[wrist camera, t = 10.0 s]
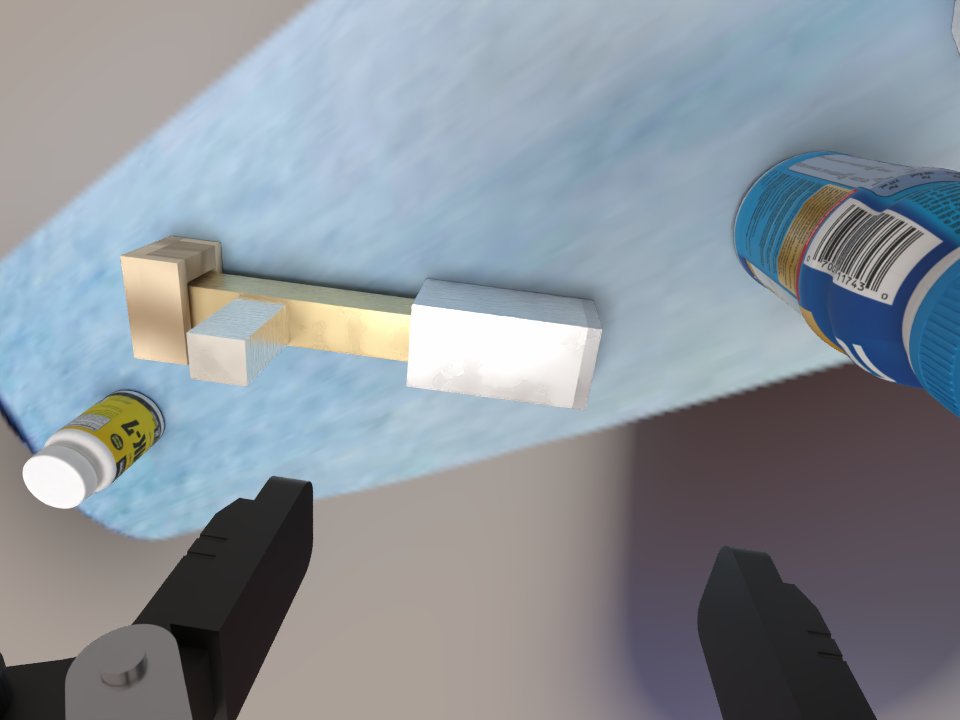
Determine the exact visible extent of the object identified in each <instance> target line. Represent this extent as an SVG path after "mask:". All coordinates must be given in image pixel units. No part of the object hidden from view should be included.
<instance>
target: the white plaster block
mask: <svg viewBox="0 0 960 720" xmlns="http://www.w3.org/2000/svg"><path fill="white" fill-rule="evenodd" d="M601 334H602V327H601V323H600V320H599V317H598V314H597V311H596V307H595V304H594V301H593V300H586V299H579V298H571V297H563V296H556V295H548V294H540V293H533V292H525V291H518V290H510V289H502V288H495V287H487V286H479V285H472V284H464V283H457V282H449V281H441V280H434V279H426V281H425V282H424V284H423V286H422V288H421V290H420V291H419V293H418V295H417V297H416V298H415V300H414V302H413V304H412V314H411V329H410V343H409V358H408V372H407V386H410V387H418V388H425V389H432V390H440V391H447V392H455V393H462V394H469V395H477V396H484V397H491V398H499V399H506V400H514V401H521V402H528V403H536V404H543V405H550V406H558V407H565V408H573V409H580V410H585V409H586V405H587V400H588V395H589V391H590V386H591V381H592V376H593V372H594V367H595V362H596V358H597V353H598V348H599V343H600V339H601Z"/></svg>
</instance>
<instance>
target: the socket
mask: <svg viewBox="0 0 960 720" xmlns="http://www.w3.org/2000/svg"><path fill="white" fill-rule="evenodd" d="M120 258H121V265H122V272H123V279H124V286H125V293H126V300H127V307H128V315H129V322H130V329H131V336H132V343H133V350H134V357H135V358H139V359H146V360H153V361H161V362H168V363H176V364H183V365H188V364H189V355H188V345H187V335H186V333H187V332H188V331H189V330H191V321H190V311H189V300H188V290H187V283H188V282H189V281H191V280H193V279H195V278H197V277H198V276H200V275H202V274H204V273H206V272H214V273H221V274H223V271H222V256H221V243H220V242H213V241H205V240H197V239H190V238H182V237H175V236H169V237H167V238H164V239H162V240H159V241H156V242H154V243H151V244H149V245H146V246H144V247H141V248H139V249H136V250H134V251H131V252H129V253H126V254H124V255H121V256H120Z"/></svg>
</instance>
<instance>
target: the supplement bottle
mask: <svg viewBox="0 0 960 720" xmlns="http://www.w3.org/2000/svg"><path fill="white" fill-rule="evenodd" d="M163 430H164V422H163V418H162V415H161V413H160V411H159V409H158V408H157V406H156V405H155V404H154V403H153V402H152V401H151V400H150V399H148V398H147V397H145V396H144V395H142V394H139V393H137V392H133V391H117V392H114V393H112V394H110V395H108V396H107V397H105V398H104V399H103V400H101V401H100V402H98V403H97V404H95V405H94V406H93V407H91V408H90V409H88V410H87V411H85V412H84V413H83V414H81V415H80V416H78V417H77V418H76V419H74V420H73V421H71V422H70V423H68V424H67V425H66V426H64V427H63V428H61V429H60V430H58V431H57V432H55V433H54V434H53V435H52V436H51V437H50V438H49V439H48V440H47V442H46V443H45V446H44V448H43V449H42V450H40V451H39V452H38V453H37V454H35V455H34V456H33V457H32V458H30V459H29V460H28V461H27V462H26V464H25V465H24V468H23V478H24V482H25V484H26V486H27V487H28V489H29V490H30V492H31V493H32V494H33V495H34V496H35V497H37V498H38V499H39V500H40V501H42V502H44V503H45V504H48V505H50V506H53V507H56V508H72V507H75V506H77V505H79V504H80V503H81V502H83V501H84V500H85V499H86V498H88V497H89V496H91V495H92V494H93V493H94V492H98V491H100V490H103V489H105V488H106V487H108V486H109V485H110V484H111V483H113V482H114V481H115V480H116V479H117V478H118V477H119V476H120V475H121V474H122V473H123V472H124V471H125V470H127V469H128V468H129V467H130V466H131V465H132V464H133V463H134V462H135V461H136V460H137V459H139V458H140V457H141V456H142V455H143V454H144V453H145V452H146V451H147V450H148V449H149V448H150V447H152V446H153V445H154V444H155V443H156V442H157V441H158V440H159V438H160V437H161V435H162V433H163Z"/></svg>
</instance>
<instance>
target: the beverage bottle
mask: <svg viewBox="0 0 960 720" xmlns="http://www.w3.org/2000/svg"><path fill="white" fill-rule="evenodd" d="M734 244H735V249H736V253H737V256H738V258H739V260H740V262H741V264H742V266H743V267H744V269H745V270H746V271H747V273H748V274H749V275H750V276H751V277H752V278H753V279H755V280H756V281H757V282H758V283H760V284H761V285H762V286H764V287H766V288H767V289H769V290H770V291H772V292H773V293H775V294H776V295H777V296H779V297H780V298H781V299H782V300H784V301H785V302H786V303H787V304H788V305H790V306H791V307H792V308H793V309H795V310H796V311H797V312H798V313H799V314H800V315H802V316H803V317H804V319H805V321H806V322H807V324H808V325H809V327H810V328H811V329H812V330H813V331H814V332H815V334H816V335H817V336H819V337H820V338H821V339H822V340H823V341H824V342H826V343H827V344H828V345H830V346H831V347H833V348H834V349H836V350H838V351H840V352H841V353H843V354H845V355H847V356H848V357H849V358H850V359H851V360H852V361H853V362H855V363H856V364H857V365H858V366H860V367H861V368H863V369H864V370H866V371H867V372H869V373H871V374H873V375H875V376H877V377H880V378H882V379H885V380H888V381H891V382H894V383H897V384H901V385H906V386H911V387H916V388H924V389H925V390H926V391H927V392H928V393H929V394H930V395H931V396H932V397H933V398H935V399H936V400H937V401H939V402H940V403H941V404H942V405H944V407H946V408H947V409H948V410H950V411H951V412H952V413H954V414H955V415H956V416H958V417H959V418H960V172H957V171H953V170H948V169H942V168H929V167H922V168H914V167H908V166H902V165H896V164H891V163H885V162H879V161H873V160H868V159H862V158H857V157H852V156H849V155H846V154H841V153H836V152H827V151H819V152H810V153H804V154H801V155H797V156H794V157H792V158H789V159H787V160H785V161H783V162H781V163H779V164H777V165H776V166H774V167H773V168H771V169H770V170H768V171H767V172H766V173H765V174H764V175H762V176H761V177H760V178H759V179H758V180H757V181H756V182H755V184H754V185H753V186H752V187H751V188H750V190H749V191H748V193H747V194H746V196H745V197H744V199H743V201H742V203H741V205H740V208H739V210H738V213H737V216H736V220H735V226H734Z"/></svg>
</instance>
